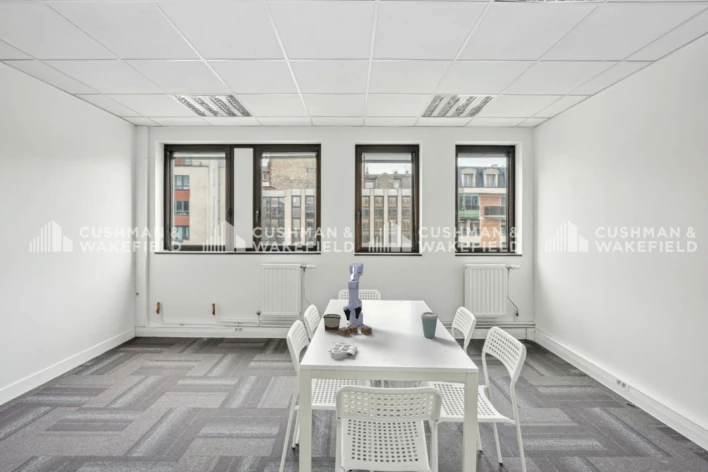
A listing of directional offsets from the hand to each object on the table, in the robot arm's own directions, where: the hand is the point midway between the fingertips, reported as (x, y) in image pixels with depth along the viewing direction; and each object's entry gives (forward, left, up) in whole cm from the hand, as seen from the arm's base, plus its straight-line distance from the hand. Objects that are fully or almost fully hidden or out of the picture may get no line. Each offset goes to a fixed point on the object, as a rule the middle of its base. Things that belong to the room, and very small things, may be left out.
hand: (352, 319), depth 223 cm
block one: (-6, +7, -9) cm, 13 cm away
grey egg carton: (+28, +24, -9) cm, 38 cm away
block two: (+7, 0, -9) cm, 11 cm away
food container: (+7, -13, -9) cm, 17 cm away
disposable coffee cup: (-34, +36, -9) cm, 50 cm away
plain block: (0, 0, -9) cm, 9 cm away
